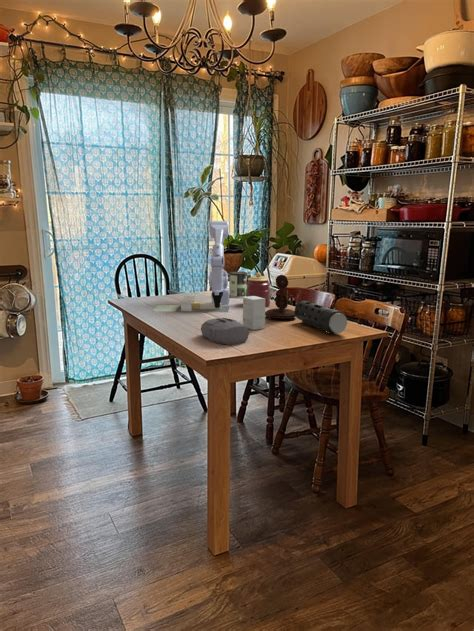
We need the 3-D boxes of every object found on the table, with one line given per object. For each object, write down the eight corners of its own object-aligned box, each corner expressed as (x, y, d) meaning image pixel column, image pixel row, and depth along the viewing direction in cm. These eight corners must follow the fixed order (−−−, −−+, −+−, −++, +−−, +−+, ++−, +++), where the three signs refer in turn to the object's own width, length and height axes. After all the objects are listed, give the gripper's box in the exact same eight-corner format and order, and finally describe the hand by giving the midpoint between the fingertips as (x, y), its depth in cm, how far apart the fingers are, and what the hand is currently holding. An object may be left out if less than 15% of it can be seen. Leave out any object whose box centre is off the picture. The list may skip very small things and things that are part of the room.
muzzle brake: (311, 321, 222) (312, 299, 219) (348, 336, 196) (349, 311, 194) (293, 323, 218) (294, 300, 216) (328, 338, 193) (329, 312, 191)
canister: (244, 307, 252) (244, 273, 248) (246, 302, 264) (247, 270, 261) (269, 308, 250) (270, 274, 247) (270, 303, 263) (271, 271, 259)
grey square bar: (194, 305, 252) (194, 296, 251) (191, 311, 238) (191, 301, 237) (185, 305, 253) (184, 296, 252) (181, 311, 238) (181, 301, 237)
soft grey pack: (253, 341, 186) (224, 331, 202) (254, 320, 185) (224, 311, 200) (221, 347, 178) (192, 336, 193) (221, 325, 176) (192, 315, 192)
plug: (221, 308, 246) (221, 302, 246) (221, 309, 243) (221, 303, 243) (189, 307, 247) (189, 302, 246) (189, 309, 244) (189, 303, 243)
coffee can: (248, 295, 288) (248, 271, 285) (245, 298, 278) (245, 273, 275) (231, 294, 290) (231, 271, 287) (227, 297, 280) (227, 273, 277)
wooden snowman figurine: (297, 321, 220) (299, 278, 216) (265, 321, 221) (266, 277, 217) (295, 315, 235) (297, 273, 231) (264, 314, 236) (265, 273, 231)
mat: (229, 306, 253) (229, 306, 253) (228, 313, 237) (228, 312, 237) (158, 305, 253) (158, 305, 253) (152, 312, 238) (152, 311, 238)
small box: (265, 328, 207) (265, 298, 204) (252, 330, 204) (253, 299, 201) (254, 324, 214) (254, 295, 211) (242, 326, 210) (242, 296, 208)
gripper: (225, 282, 235) (224, 309, 238) (226, 278, 249) (225, 304, 252) (210, 282, 235) (210, 309, 238) (212, 278, 249) (212, 304, 252)
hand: (217, 307), depth 245 cm, fingers closed on plug, 3 cm apart
